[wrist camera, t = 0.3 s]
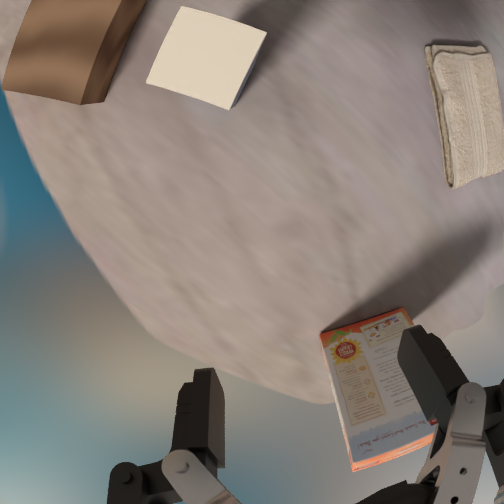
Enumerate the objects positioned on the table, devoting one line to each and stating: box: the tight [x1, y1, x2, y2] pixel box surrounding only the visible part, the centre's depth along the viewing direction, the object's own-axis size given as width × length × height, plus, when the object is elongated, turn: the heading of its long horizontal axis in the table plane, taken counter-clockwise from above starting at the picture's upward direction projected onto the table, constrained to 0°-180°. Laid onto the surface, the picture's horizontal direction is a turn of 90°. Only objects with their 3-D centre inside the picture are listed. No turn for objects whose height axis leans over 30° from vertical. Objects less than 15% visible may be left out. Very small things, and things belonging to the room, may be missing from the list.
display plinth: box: [1, 0, 147, 105], centre depth 17 cm, size 12×12×5 cm
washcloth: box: [425, 45, 504, 189], centre depth 23 cm, size 12×18×3 cm, turn 21°
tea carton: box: [146, 6, 267, 110], centre depth 17 cm, size 5×5×14 cm
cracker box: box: [319, 307, 438, 472], centre depth 32 cm, size 14×6×21 cm, turn 106°
